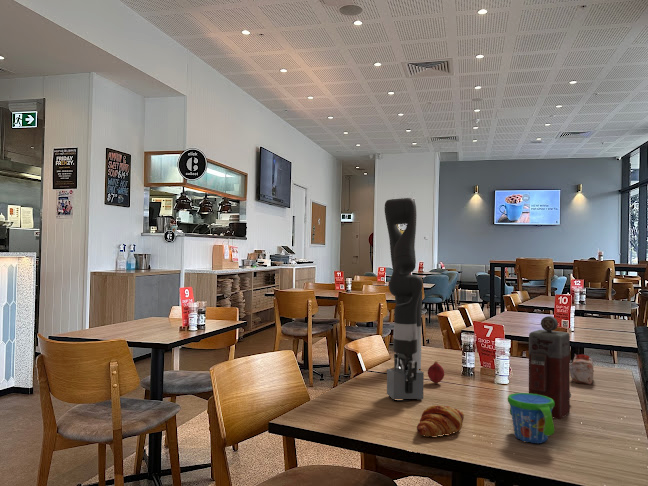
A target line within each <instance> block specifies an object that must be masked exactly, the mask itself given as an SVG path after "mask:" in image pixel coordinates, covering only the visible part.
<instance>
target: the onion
mask: <svg viewBox="0 0 648 486" xmlns="http://www.w3.org/2000/svg"><path fill="white" fill-rule="evenodd" d="M427 376H428V378H429V380H430V381H431V382H432V383H433V384H435V383H437V384H439V383H440V382H441V381H442V380H443V379H444V377H445V369H444V368H443V367H442V365H440V364H439V363H438V360H434V363H433V364H431V365H430V366H429V367H428V369H427Z"/></svg>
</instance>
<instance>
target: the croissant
mask: <svg viewBox="0 0 648 486" xmlns="http://www.w3.org/2000/svg"><path fill="white" fill-rule="evenodd" d="M464 418H465V413H464V412H463V411H460V410H459V409H457V408H453V407H451V406H448V405H440V404H436V405H432V406H431V405H430V406H428V407H427V408H426V409H425V410H423V412H422V414H421V417H420V419H419V423H418V424H417V426H416V431H417V433H418V434H419V435H421V436H422V435H425V436H424V437H429V436H438V435H443V434H444V435H445V434H450V433H453V432H456V431H457V432H459V431H460V430H461V429H462V427H463V422H464ZM457 432H456V433H457ZM453 434H454V433H453Z"/></svg>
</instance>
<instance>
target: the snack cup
mask: <svg viewBox="0 0 648 486" xmlns="http://www.w3.org/2000/svg"><path fill="white" fill-rule="evenodd" d="M507 402H508V403H509V414H510V415H511V420H512V426H513V433H514V437H515V436H516V437H515V438H516V439H518V440H519V439H520V440H519V441H523V442H524V441H526V442H525V443H528V442H531V443H530V444H539V443H540V444H543V443H546V442H547V441H548V439H549V437H550V436H552V435H554V434H555V425H554V421H553V417H552V414H551V413H552V409H553V407H554V405H555V402H554V401H553V399H551V398H549V397H547V396H543V395H538V394H531V393H529V392H517V393H511V394H509V395H508V396H507Z"/></svg>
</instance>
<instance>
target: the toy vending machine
mask: <svg viewBox="0 0 648 486" xmlns="http://www.w3.org/2000/svg"><path fill="white" fill-rule="evenodd" d="M558 323H559V322H558V320H557V319H556V317H554V316H551V315H550V316H549V315H548V316H543V317H542V319H541V321H540V327H541V328H542V329H537V330H534V331H532V332H529V334H528V393H531V394H538V395H543V396H547V397H549V398H551V399H553V401H554V402H555V405H554V407H553V409H552V413H551V414H552V418H553V417H554V419H557V418H558V420H561V418H562V419H563V418H564V417H565V415H566V416H567V415H569V413H570V407H571V406H570V403H571V402H570V401H571V400H570V399H571V397H570V393H571V391H570V387H571V385H570V381H571V380H570V378H571V376H570V361H571V359H570V357H571V356H570V354H571V353H570V352H571V351H570V347H571V346H570V343H571V342H570V339H571V338H570V333H569V332H567V331H559V330H556V329H557V328H558V326H559V324H558Z"/></svg>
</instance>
